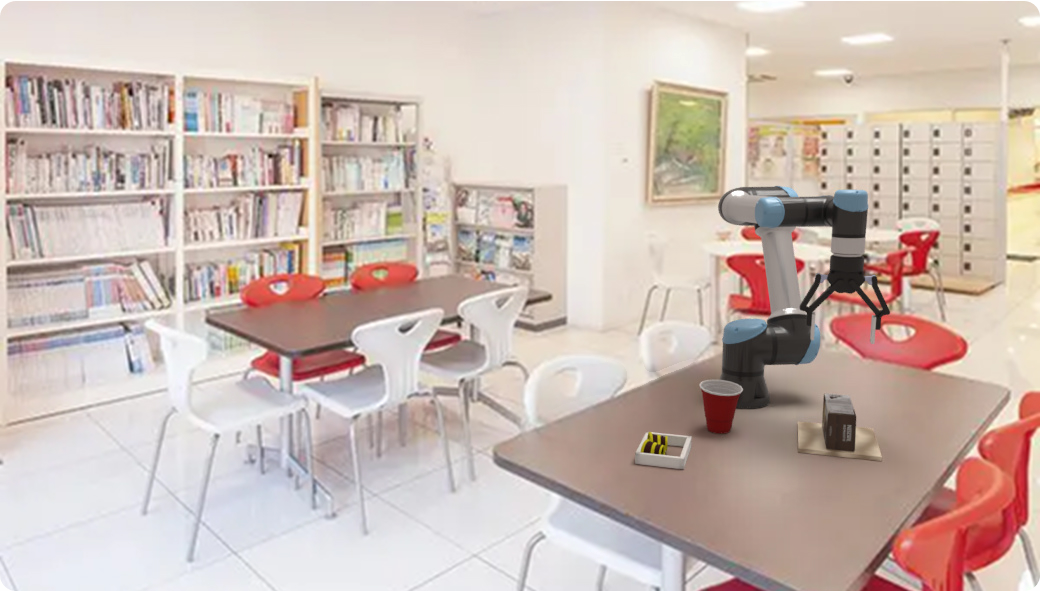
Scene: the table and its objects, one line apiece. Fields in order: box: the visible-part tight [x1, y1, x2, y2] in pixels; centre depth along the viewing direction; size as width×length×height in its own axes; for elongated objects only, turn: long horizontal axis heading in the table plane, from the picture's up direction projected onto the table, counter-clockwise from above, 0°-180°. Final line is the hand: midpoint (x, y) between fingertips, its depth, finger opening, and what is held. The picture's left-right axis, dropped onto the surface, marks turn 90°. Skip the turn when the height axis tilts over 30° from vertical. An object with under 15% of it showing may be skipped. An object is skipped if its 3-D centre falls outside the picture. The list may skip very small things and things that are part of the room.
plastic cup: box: [699, 379, 743, 435], centre depth 197 cm, size 11×11×12 cm
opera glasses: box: [641, 431, 669, 455], centre depth 180 cm, size 10×5×5 cm, turn 161°
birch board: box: [797, 421, 883, 462], centre depth 189 cm, size 18×20×1 cm
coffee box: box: [821, 393, 857, 451], centre depth 187 cm, size 9×6×16 cm
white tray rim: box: [634, 431, 693, 470], centre depth 182 cm, size 11×15×2 cm
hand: (841, 340), depth 188 cm, fingers open, 13 cm apart
